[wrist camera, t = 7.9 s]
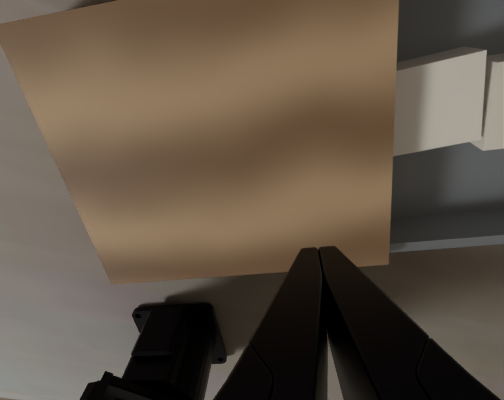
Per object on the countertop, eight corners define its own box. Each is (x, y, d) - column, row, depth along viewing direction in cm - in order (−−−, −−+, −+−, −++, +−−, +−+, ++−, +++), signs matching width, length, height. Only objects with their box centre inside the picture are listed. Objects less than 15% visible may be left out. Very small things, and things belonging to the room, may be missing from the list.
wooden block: (371, 224, 21) (388, 264, 18) (136, 244, 24) (111, 284, 20) (373, -40, 15) (400, -58, 11) (51, 24, 17) (-8, 25, 14)
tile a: (460, 127, 18) (480, 139, 16) (382, 143, 18) (392, 156, 17) (464, 46, 16) (486, 49, 14) (376, 67, 17) (387, 73, 15)
